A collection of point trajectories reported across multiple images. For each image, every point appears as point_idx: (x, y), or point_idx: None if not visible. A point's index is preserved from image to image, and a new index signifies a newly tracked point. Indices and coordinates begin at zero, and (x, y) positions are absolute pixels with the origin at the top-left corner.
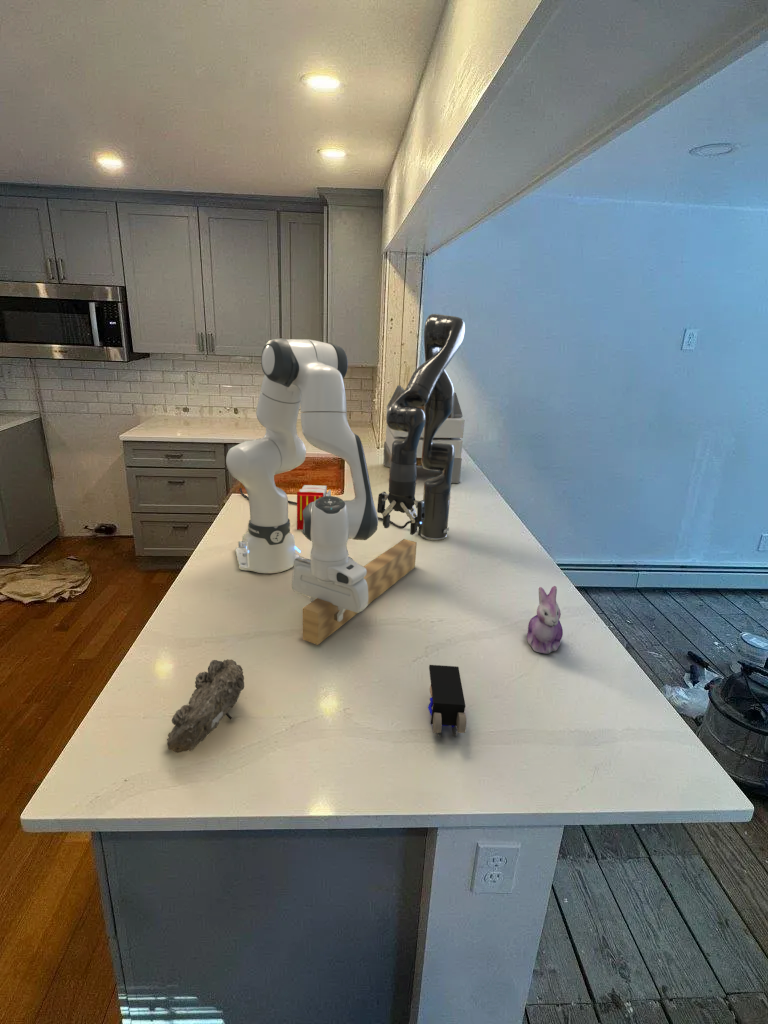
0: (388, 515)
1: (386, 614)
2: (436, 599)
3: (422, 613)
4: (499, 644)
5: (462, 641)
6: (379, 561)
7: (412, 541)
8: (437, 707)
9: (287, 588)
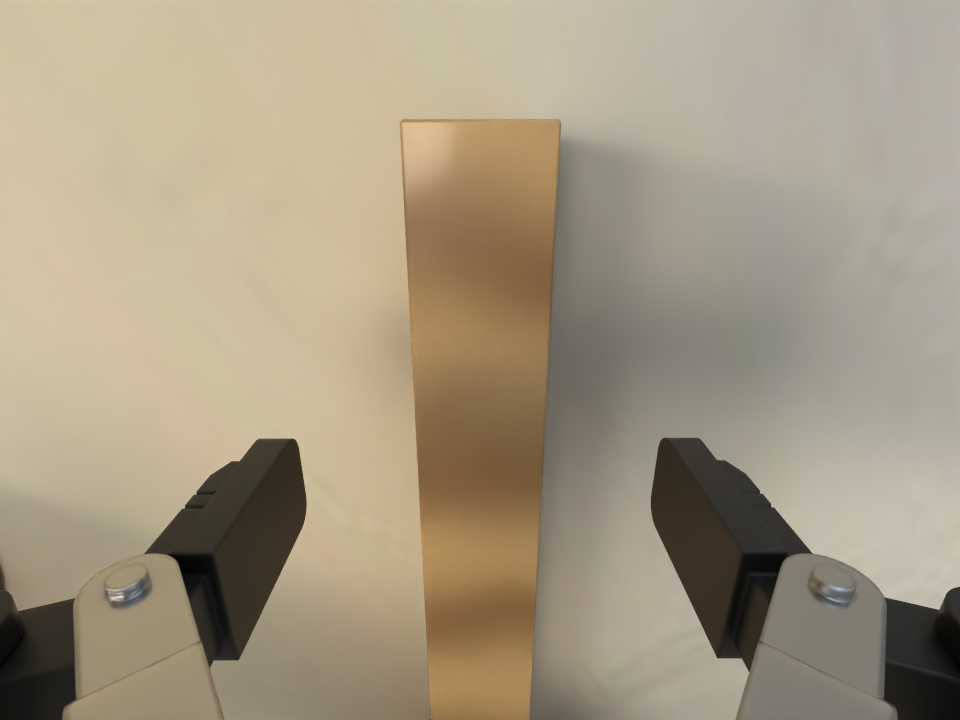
0: (210, 591)
1: (616, 641)
2: (785, 439)
3: None
4: None
5: None
6: (476, 626)
7: (514, 132)
8: None
9: None
